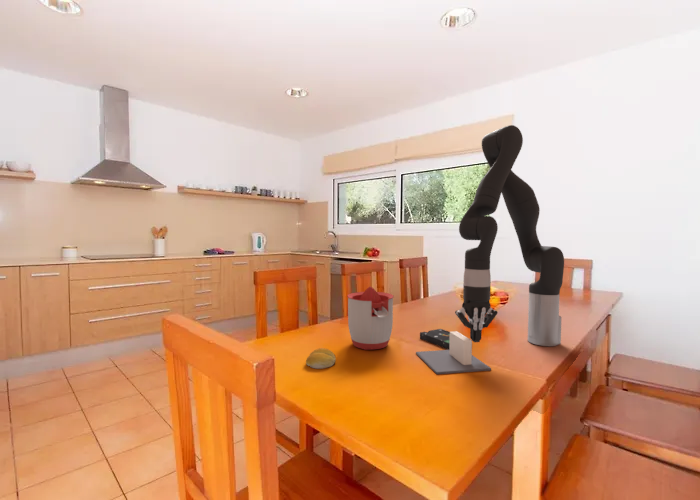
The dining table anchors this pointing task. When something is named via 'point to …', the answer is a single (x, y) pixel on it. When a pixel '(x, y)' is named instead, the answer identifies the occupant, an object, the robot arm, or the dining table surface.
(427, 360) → the mat
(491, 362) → the dining table surface
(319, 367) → the bread roll
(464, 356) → the block
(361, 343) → the citrus juicer
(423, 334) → the disk drive
